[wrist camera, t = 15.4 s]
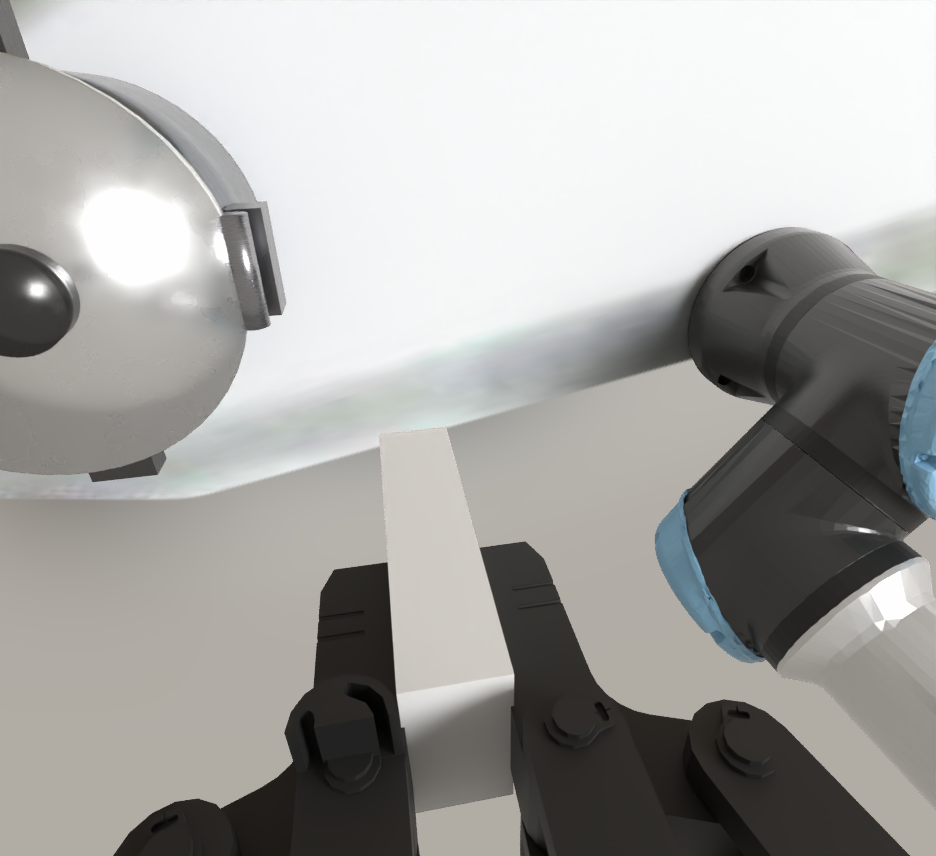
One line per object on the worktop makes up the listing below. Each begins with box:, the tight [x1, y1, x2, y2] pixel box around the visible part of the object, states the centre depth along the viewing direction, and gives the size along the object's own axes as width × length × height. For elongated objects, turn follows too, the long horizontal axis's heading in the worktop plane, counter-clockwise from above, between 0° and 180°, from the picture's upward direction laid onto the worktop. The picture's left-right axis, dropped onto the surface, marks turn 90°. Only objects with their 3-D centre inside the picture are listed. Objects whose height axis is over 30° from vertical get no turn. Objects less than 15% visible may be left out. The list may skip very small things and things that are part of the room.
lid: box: [0, 52, 271, 475], centre depth 28 cm, size 22×21×3 cm
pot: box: [0, 0, 286, 482], centre depth 36 cm, size 22×26×12 cm
